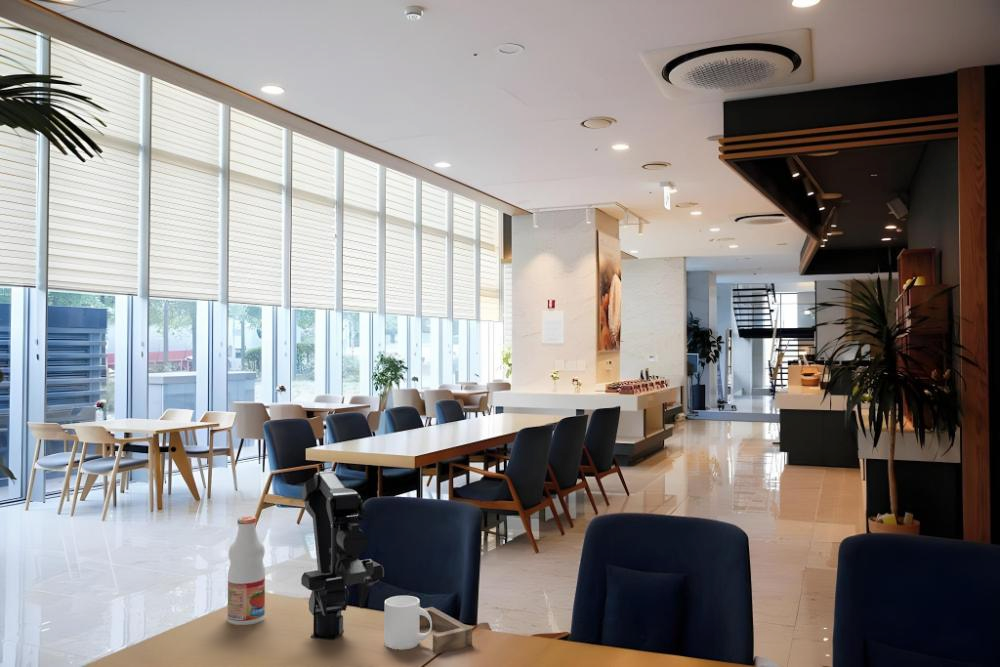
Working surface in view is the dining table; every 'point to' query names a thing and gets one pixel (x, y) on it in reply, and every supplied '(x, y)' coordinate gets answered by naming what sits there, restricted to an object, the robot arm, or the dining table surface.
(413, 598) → the mug
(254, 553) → the fruit juice
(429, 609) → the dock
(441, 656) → the dining table surface
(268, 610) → the dining table surface
